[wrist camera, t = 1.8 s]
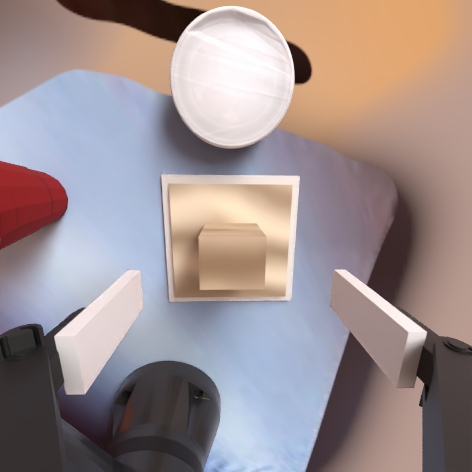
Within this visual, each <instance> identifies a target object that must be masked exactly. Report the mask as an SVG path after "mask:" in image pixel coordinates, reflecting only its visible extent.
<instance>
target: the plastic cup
mask: <svg viewBox="0 0 472 472" xmlns="http://www.w3.org/2000/svg"><path fill="white" fill-rule="evenodd" d="M67 203H68V198H67V195H66V191H65V189H64V188H63V186H62V185H61V184H60V182H59V181H58V180H56V179H55V178H53V177H52V176H50V175H47V174H46V173H43V172H39V171H35V170H31V169H28V168H26V167H23V166H19V165H15V164H11V163H6V162H2V161H0V250H1V249H3V248H5V247H7V246H9V245H11V244H13V243H15V242H17V241H18V240H20V239H22V238H24V237H26V236H28V235H30V234H32V233H34V232H36V231H38V230H39V229H41V228H42V227H44V226H46V225H49V224H51V223H53V222H54V221H56V220H57V219H59V218H60V217H61V216H63V214H64V212H65V211H66V209H67Z"/></svg>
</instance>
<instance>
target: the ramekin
mask: <svg viewBox="0 0 472 472" xmlns="http://www.w3.org/2000/svg"><path fill="white" fill-rule="evenodd" d="M170 86H171V93H172V97H173V101H174V104H175V106H176V109H177V111H178V113H179V115H180V117H181V118H182V120H183V121H184V123H185V124H186V126H187V127H188V128H189V129H190V130H191V131H192V132H193V133H194V134H195V135H196V136H197V137H199V138H200V139H202V140H203V141H205V142H207V143H209V144H211V145H214V146H217V147H221V148H232V149H234V148H243V147H247V146H250V145H252V144H255V143H257V142H259V141H260V140H262V139H263V138H265V137H266V136H268V135H269V134H270V133H271V132H272V131H273V130H274V129H275V128H276V127H277V125H278V124H279V123H280V121H281V120H282V118H283V117H284V115H285V113H286V111H287V109H288V106H289V104H290V101H291V97H292V94H293V89H294V65H293V60H292V56H291V53H290V50H289V47H288V45H287V43H286V41H285V39H284V37H283V36H282V34H281V33H280V32H279V30H278V29H277V28H276V27H275V26H274V25H273V23H271V22H270V21H269V20H268V19H267V18H265V17H264V16H262V15H261V14H259V13H257V12H255V11H253V10H251V9H248V8H243V7H239V6H238V7H237V6H224V7H220V8H216V9H212V10H210V11H207V12H205V13H204V14H202V15H200V16H199V17H197V18H196V19H195V20H194V21H192V22H191V23H190V24H189V26H188V27H187V28H186V29H185V31H184V32H183V33H182V35H181V37H180V38H179V40H178V42H177V44H176V47H175V49H174V52H173V55H172V60H171V66H170Z"/></svg>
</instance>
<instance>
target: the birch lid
mask: <svg viewBox="0 0 472 472" xmlns="http://www.w3.org/2000/svg"><path fill="white" fill-rule="evenodd" d="M292 187H293V185H277V184H174V183H169V195H170V213H171V231H172V248H173V266H174V284H175V298H190V297H285V295H286V280H287V264H288V249H289V234H290V218H291V203H292Z"/></svg>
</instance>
